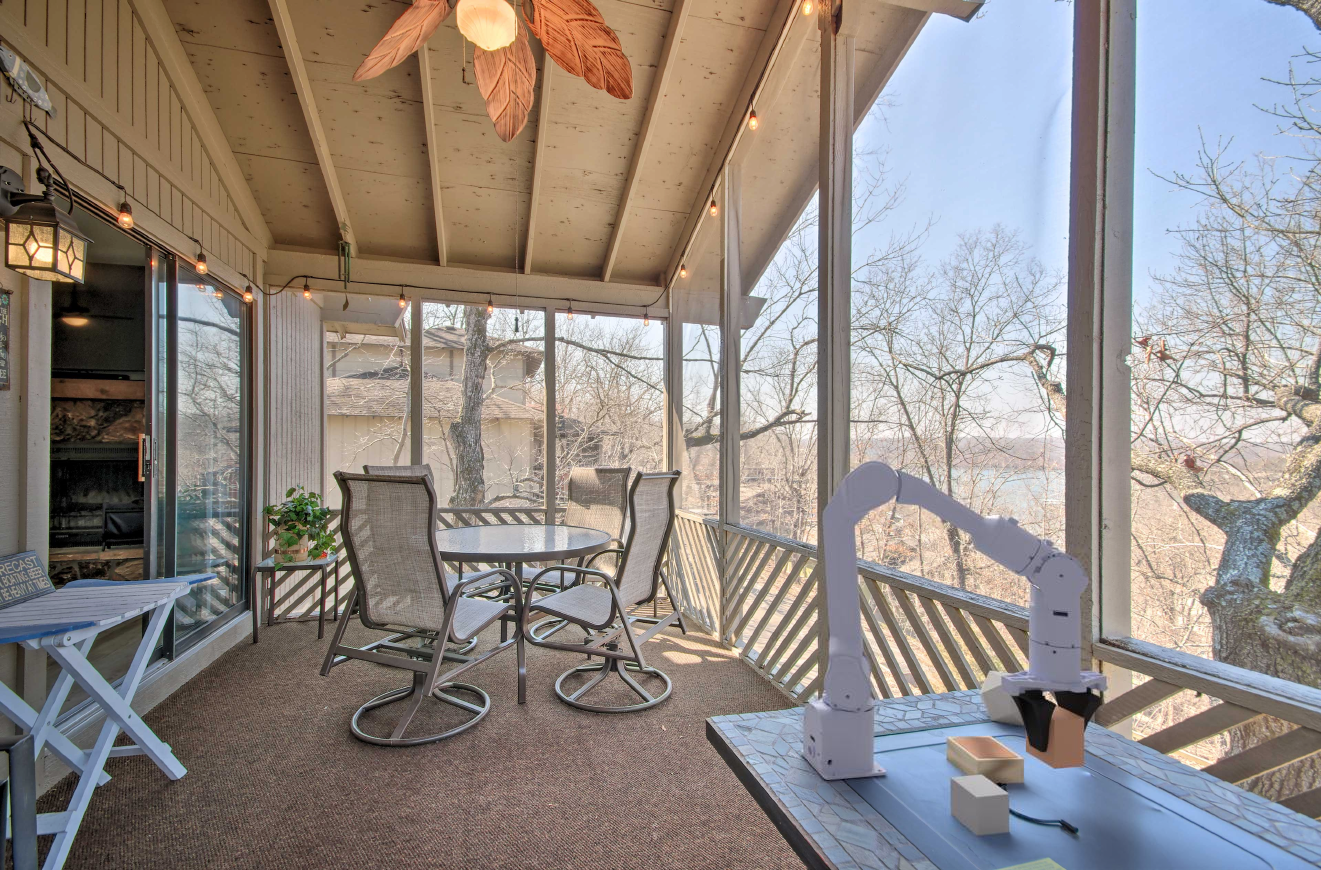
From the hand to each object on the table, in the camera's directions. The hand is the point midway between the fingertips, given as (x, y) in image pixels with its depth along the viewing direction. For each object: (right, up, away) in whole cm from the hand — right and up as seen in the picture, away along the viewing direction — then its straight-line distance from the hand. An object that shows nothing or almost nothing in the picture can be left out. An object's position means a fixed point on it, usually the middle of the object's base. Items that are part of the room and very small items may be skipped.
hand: (1054, 747), depth 78 cm
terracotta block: (0, -2, 0) cm, 2 cm away
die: (+9, -9, +25) cm, 28 cm away
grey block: (-12, -7, -5) cm, 15 cm away
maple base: (-5, -8, +8) cm, 12 cm away
